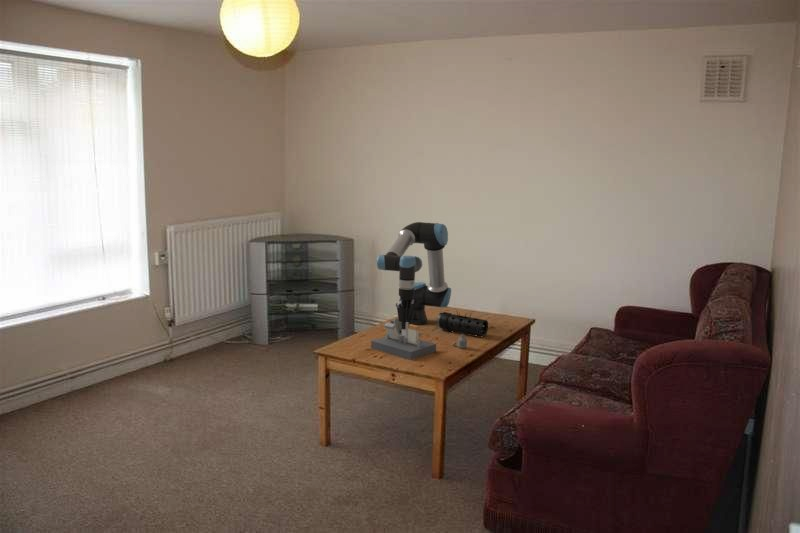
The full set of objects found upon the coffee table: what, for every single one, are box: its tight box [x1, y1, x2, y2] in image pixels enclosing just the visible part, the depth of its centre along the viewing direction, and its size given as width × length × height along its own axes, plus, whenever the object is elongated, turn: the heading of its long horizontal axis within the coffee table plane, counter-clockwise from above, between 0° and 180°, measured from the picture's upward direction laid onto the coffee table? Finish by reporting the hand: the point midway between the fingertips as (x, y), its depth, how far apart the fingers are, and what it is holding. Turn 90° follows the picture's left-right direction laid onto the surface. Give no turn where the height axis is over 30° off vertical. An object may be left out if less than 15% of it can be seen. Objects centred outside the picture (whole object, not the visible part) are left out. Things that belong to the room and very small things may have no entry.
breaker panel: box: [370, 331, 437, 361], centre depth 336 cm, size 20×26×7 cm
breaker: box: [383, 322, 399, 340], centre depth 337 cm, size 2×6×10 cm
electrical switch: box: [390, 317, 402, 335], centre depth 365 cm, size 9×5×9 cm, turn 141°
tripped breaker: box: [407, 324, 420, 345], centre depth 331 cm, size 2×6×10 cm, turn 50°
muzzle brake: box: [436, 311, 489, 338], centre depth 371 cm, size 10×28×10 cm, turn 58°
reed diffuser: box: [451, 311, 472, 349], centre depth 342 cm, size 10×7×20 cm
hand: (404, 335), depth 326 cm, fingers closed
